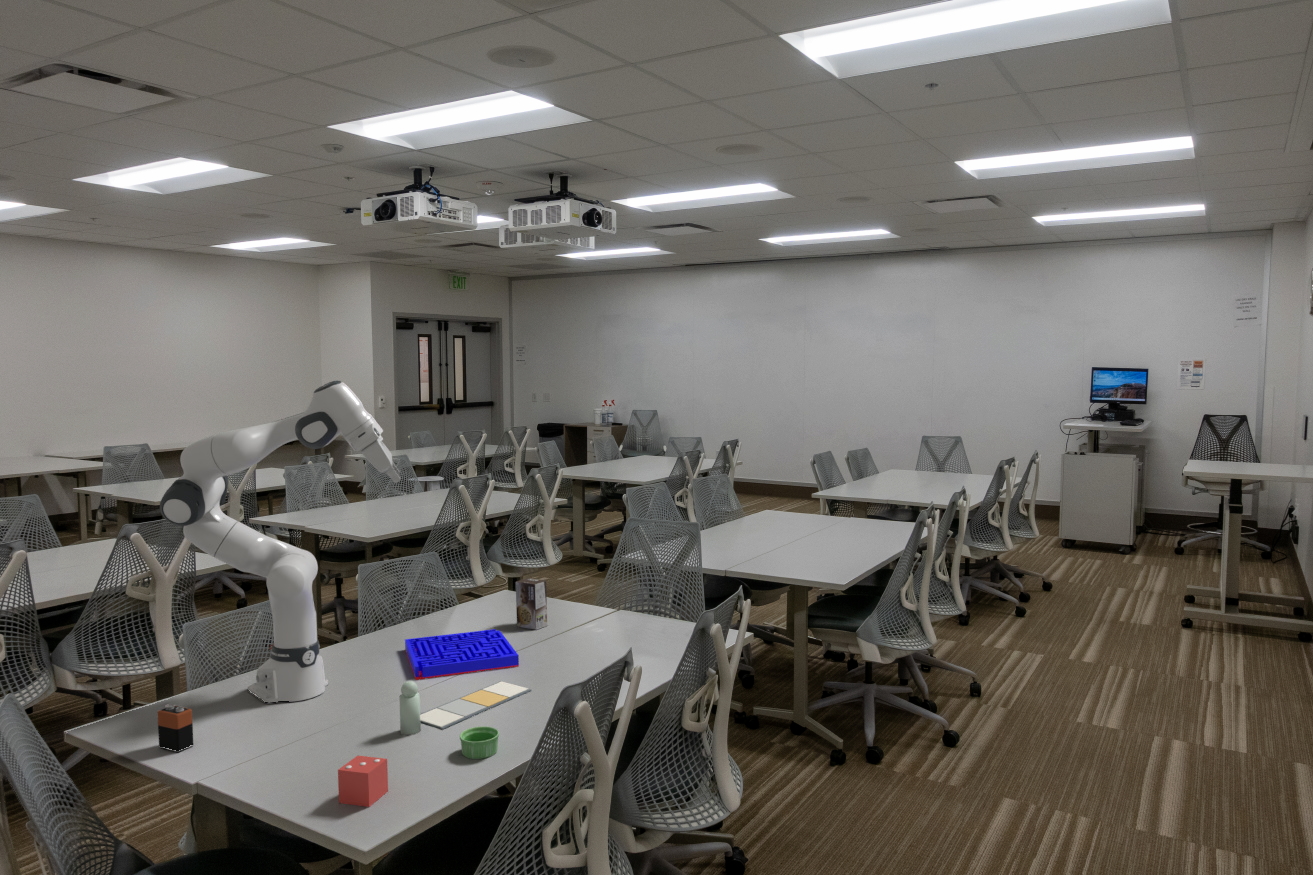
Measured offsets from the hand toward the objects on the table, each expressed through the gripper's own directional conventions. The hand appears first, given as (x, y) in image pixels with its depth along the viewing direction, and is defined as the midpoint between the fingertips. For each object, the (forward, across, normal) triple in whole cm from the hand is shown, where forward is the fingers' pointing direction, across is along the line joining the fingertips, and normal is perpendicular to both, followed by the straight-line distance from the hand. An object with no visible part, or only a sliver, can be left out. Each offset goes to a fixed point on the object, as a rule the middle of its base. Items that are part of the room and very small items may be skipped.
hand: (398, 478), depth 228 cm
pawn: (+50, +21, -33) cm, 63 cm away
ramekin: (+58, +39, -20) cm, 72 cm away
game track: (+60, +8, -20) cm, 63 cm away
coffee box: (+78, -60, 0) cm, 98 cm away
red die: (+42, +54, -40) cm, 79 cm away
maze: (+62, -32, -22) cm, 73 cm away
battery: (+20, +14, -77) cm, 81 cm away
